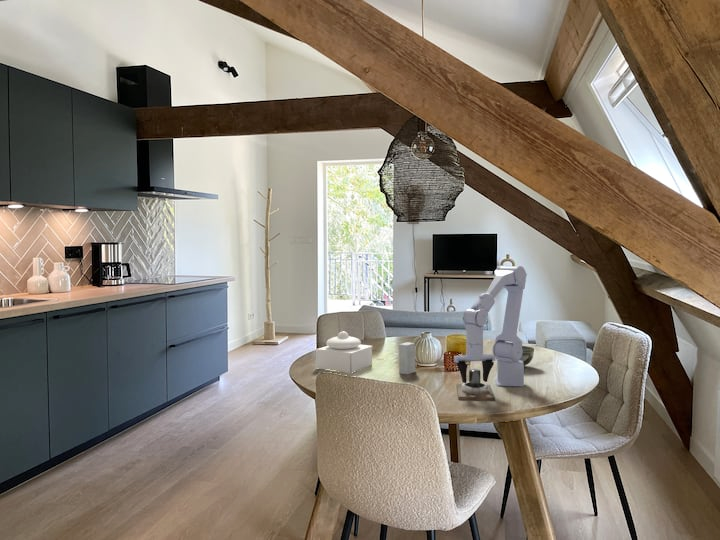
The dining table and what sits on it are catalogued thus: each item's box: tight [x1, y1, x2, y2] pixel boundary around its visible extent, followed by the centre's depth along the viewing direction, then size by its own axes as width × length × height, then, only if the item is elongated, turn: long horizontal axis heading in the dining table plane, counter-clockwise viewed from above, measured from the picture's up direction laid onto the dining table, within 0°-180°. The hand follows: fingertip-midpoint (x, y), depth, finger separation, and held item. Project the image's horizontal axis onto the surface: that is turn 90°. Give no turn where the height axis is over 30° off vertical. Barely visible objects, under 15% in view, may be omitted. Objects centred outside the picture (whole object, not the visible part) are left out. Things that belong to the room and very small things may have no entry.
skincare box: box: [398, 341, 416, 376], centre depth 219 cm, size 6×4×12 cm
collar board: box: [455, 381, 496, 401], centre depth 188 cm, size 12×16×3 cm
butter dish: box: [315, 330, 374, 374], centre depth 229 cm, size 18×18×16 cm
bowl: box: [519, 345, 535, 369], centre depth 226 cm, size 14×13×8 cm
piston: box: [468, 368, 481, 388], centre depth 188 cm, size 4×4×7 cm
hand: (474, 381), depth 188 cm, fingers open, 7 cm apart
